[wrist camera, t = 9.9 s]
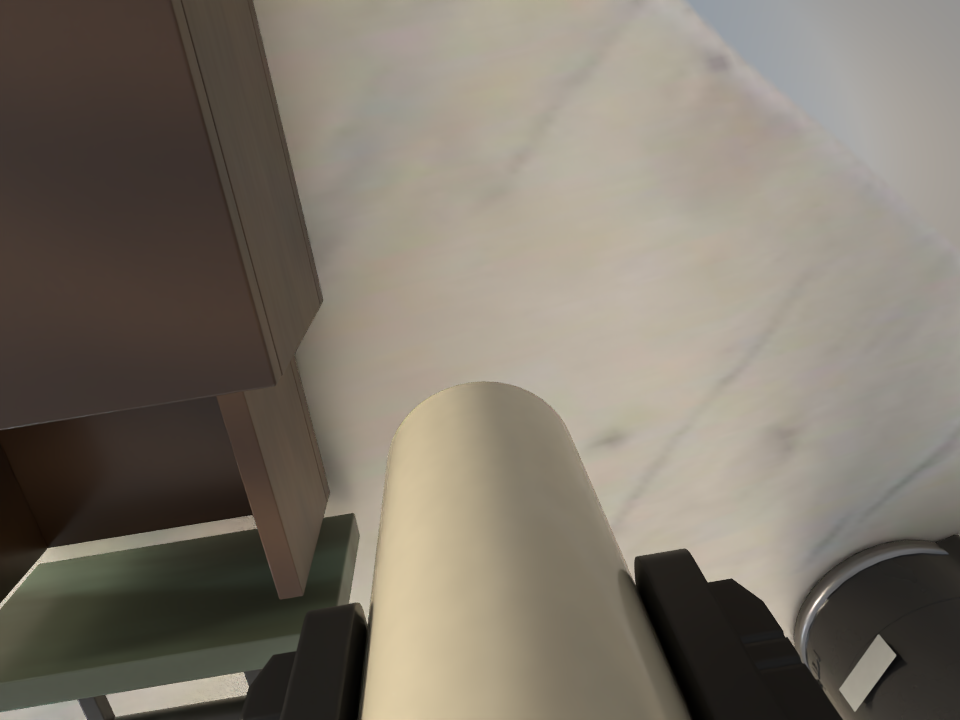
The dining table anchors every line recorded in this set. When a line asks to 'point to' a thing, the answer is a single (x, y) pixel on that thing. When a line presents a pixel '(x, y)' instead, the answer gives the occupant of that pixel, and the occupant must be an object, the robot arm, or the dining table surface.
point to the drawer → (164, 549)
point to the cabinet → (143, 209)
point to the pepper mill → (503, 576)
